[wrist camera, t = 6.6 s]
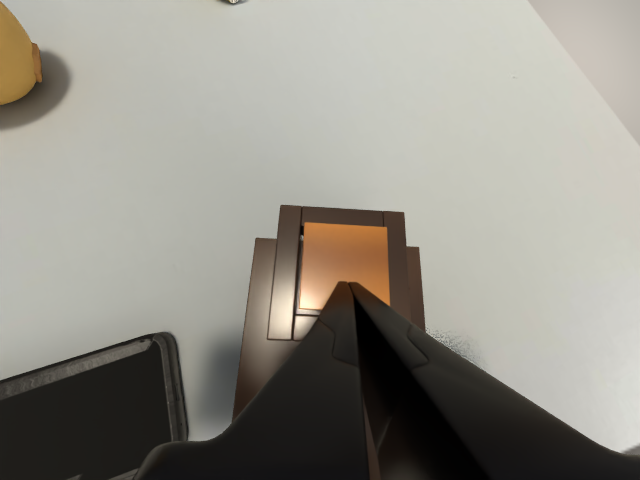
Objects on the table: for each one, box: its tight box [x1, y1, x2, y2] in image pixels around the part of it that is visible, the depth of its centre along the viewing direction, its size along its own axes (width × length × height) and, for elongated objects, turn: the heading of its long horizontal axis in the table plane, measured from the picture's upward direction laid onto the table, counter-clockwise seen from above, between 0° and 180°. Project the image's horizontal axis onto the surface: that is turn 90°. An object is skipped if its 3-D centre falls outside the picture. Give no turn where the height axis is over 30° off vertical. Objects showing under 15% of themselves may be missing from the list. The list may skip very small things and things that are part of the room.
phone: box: [0, 332, 187, 480], centre depth 15 cm, size 8×1×15 cm
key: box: [299, 222, 390, 310], centre depth 12 cm, size 4×4×2 cm
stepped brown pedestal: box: [232, 205, 426, 480], centre depth 14 cm, size 14×10×7 cm
